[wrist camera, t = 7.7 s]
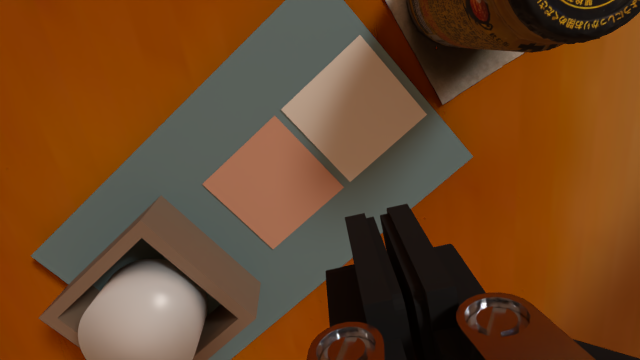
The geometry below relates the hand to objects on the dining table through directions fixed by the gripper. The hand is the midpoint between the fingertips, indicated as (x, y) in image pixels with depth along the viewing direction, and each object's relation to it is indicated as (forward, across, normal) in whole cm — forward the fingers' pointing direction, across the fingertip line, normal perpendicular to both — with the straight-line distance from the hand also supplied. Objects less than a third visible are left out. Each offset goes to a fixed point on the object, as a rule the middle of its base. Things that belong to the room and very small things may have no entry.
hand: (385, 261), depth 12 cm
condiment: (+17, -8, -5) cm, 20 cm away
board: (+16, +6, +3) cm, 18 cm away
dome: (+12, +13, +7) cm, 19 cm away
